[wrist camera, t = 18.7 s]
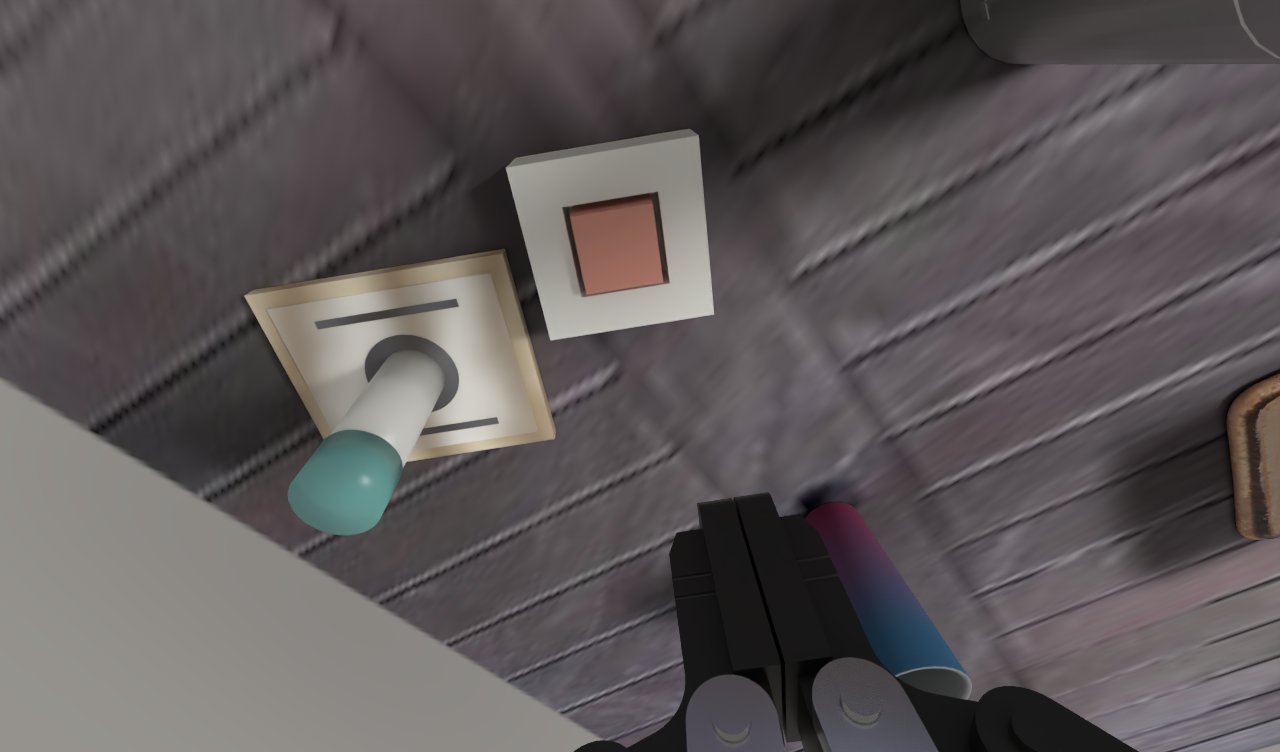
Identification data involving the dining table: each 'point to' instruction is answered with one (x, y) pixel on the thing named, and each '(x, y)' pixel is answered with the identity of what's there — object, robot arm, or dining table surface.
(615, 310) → the button housing
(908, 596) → the cup
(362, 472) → the marker
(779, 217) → the dining table surface
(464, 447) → the paper board
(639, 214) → the button
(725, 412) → the dining table surface
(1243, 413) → the case
